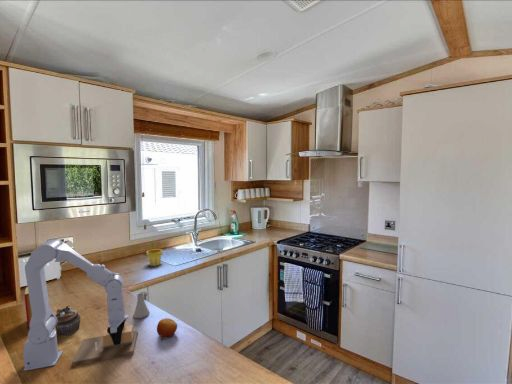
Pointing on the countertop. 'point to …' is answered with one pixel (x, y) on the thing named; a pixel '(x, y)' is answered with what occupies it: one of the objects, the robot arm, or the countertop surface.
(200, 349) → the countertop surface
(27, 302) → the baking soda box
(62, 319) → the cupcake
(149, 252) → the plant pot
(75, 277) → the countertop surface
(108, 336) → the block
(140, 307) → the flask
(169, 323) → the fruit
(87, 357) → the board
